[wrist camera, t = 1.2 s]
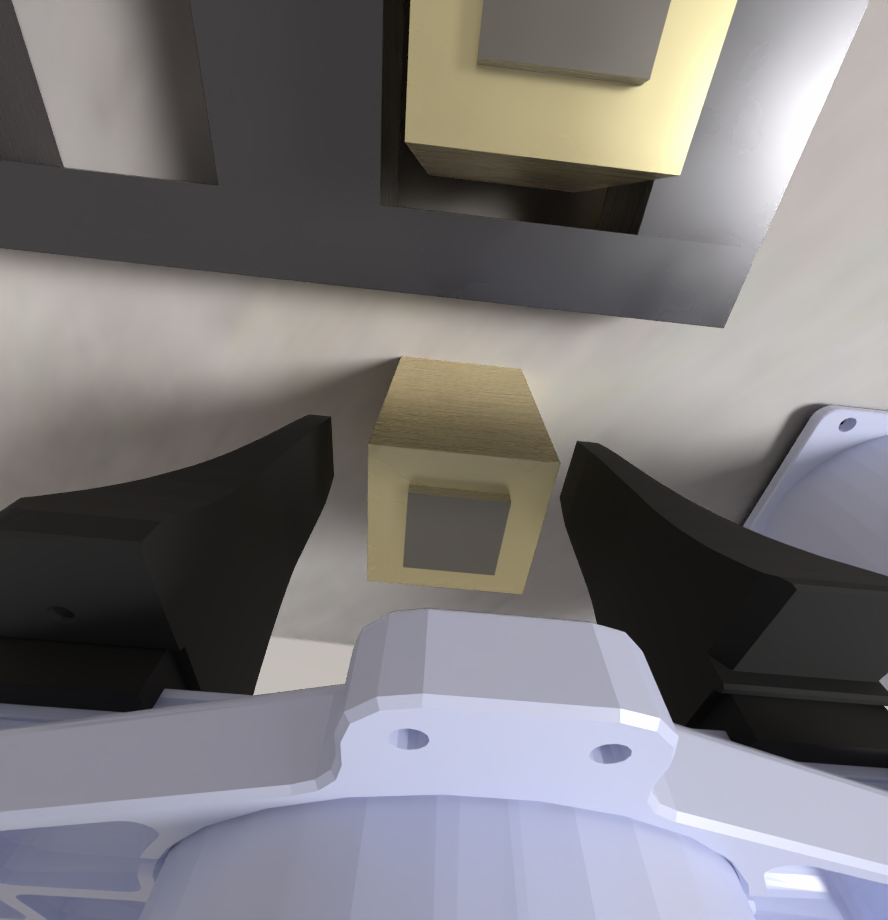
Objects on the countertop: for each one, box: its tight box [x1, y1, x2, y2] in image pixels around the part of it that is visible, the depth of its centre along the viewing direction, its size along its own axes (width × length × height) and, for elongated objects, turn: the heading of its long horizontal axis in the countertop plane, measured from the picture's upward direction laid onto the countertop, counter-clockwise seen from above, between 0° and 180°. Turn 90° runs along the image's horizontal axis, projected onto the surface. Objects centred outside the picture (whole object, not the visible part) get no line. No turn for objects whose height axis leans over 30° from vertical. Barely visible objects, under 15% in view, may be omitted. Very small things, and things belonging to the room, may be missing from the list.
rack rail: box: [0, 0, 870, 328], centre depth 9 cm, size 20×9×3 cm, turn 84°
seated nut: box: [405, 0, 737, 193], centre depth 7 cm, size 4×4×6 cm
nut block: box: [367, 356, 560, 594], centre depth 12 cm, size 4×4×6 cm
